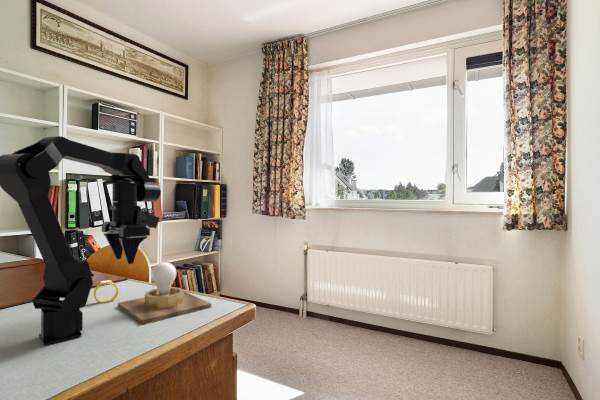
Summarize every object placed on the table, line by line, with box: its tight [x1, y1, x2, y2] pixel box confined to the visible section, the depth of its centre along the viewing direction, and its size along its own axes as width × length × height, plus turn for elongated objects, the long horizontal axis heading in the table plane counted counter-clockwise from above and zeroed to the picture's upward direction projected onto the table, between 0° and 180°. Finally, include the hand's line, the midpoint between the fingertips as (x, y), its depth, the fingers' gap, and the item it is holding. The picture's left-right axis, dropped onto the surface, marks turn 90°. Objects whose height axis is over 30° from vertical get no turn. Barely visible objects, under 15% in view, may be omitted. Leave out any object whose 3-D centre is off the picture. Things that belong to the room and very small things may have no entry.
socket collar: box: [144, 286, 185, 309], centre depth 90 cm, size 10×10×3 cm
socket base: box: [117, 291, 212, 325], centre depth 90 cm, size 18×18×1 cm
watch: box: [93, 279, 119, 304], centre depth 94 cm, size 6×3×6 cm, turn 127°
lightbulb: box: [151, 261, 177, 296], centre depth 90 cm, size 6×6×11 cm
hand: (124, 261), depth 86 cm, fingers open, 9 cm apart
